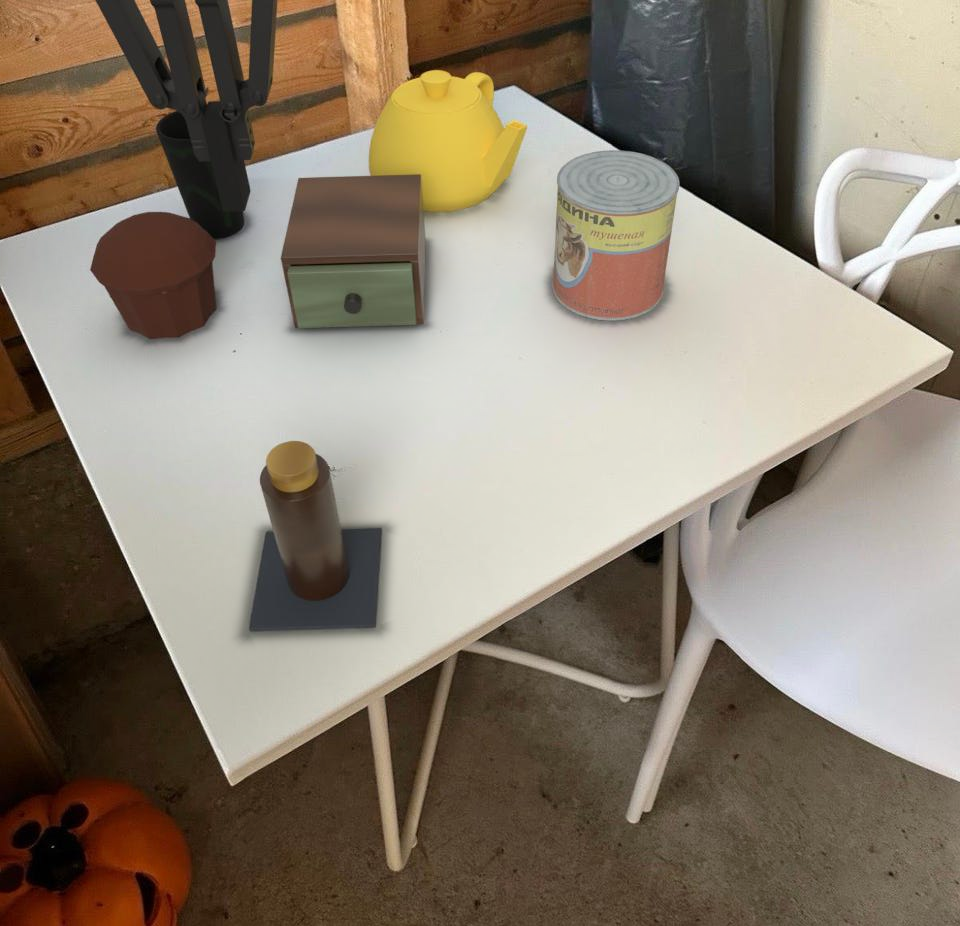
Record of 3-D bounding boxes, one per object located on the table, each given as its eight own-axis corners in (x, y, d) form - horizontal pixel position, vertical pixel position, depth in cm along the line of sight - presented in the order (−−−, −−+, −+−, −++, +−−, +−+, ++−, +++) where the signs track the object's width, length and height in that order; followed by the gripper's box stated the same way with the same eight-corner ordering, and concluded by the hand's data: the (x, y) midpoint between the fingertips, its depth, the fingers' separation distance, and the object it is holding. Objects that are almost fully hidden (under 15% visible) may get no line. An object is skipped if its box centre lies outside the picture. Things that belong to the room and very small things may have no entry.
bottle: (284, 602, 67) (250, 485, 58) (291, 552, 71) (260, 434, 62) (347, 600, 67) (322, 482, 58) (351, 550, 71) (329, 432, 62)
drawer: (416, 332, 88) (411, 277, 84) (296, 336, 88) (285, 281, 84) (419, 247, 99) (415, 193, 94) (312, 250, 99) (303, 196, 94)
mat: (249, 631, 66) (248, 628, 66) (266, 534, 72) (265, 531, 72) (375, 627, 66) (374, 624, 66) (381, 531, 72) (381, 527, 72)
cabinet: (423, 324, 91) (417, 253, 85) (294, 328, 91) (280, 257, 85) (425, 242, 101) (421, 173, 95) (310, 245, 101) (298, 177, 95)
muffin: (118, 359, 88) (83, 270, 81) (105, 295, 95) (72, 208, 88) (242, 328, 91) (219, 240, 84) (220, 269, 98) (198, 183, 91)
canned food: (531, 275, 96) (534, 168, 88) (622, 245, 100) (633, 139, 91) (590, 333, 89) (600, 224, 81) (685, 299, 93) (704, 191, 84)
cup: (172, 239, 102) (141, 136, 94) (202, 204, 107) (176, 103, 99) (236, 247, 101) (211, 143, 92) (264, 211, 106) (243, 109, 97)
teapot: (342, 190, 109) (327, 82, 100) (442, 128, 119) (437, 26, 110) (477, 245, 100) (475, 133, 91) (573, 174, 111) (579, 67, 101)
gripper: (278, -231, 50) (335, 171, 67) (37, -225, 50) (155, 176, 67) (258, -201, 45) (325, 227, 62) (-11, -193, 45) (130, 233, 62)
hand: (237, 200), depth 64 cm, fingers closed
